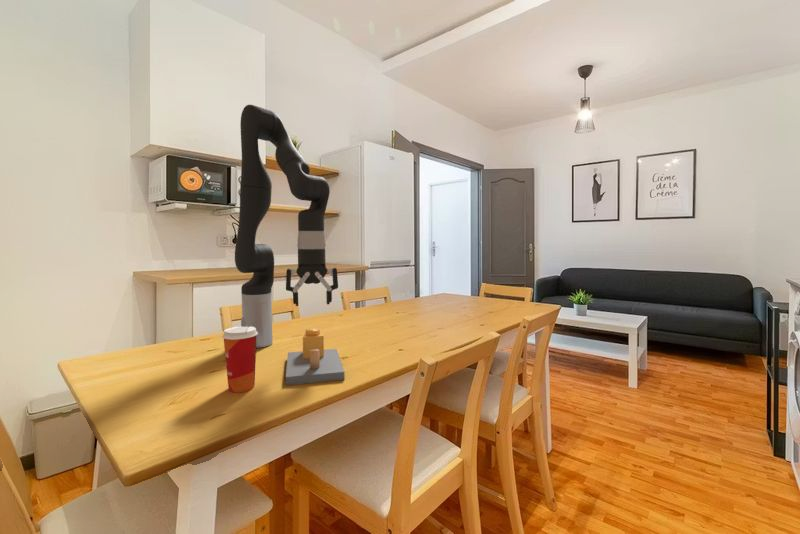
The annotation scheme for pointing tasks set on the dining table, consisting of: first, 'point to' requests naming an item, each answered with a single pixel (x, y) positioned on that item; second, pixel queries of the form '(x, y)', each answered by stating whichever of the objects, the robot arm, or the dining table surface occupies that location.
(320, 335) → the orange toy brick
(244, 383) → the paper cup
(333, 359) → the board
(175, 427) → the dining table surface
